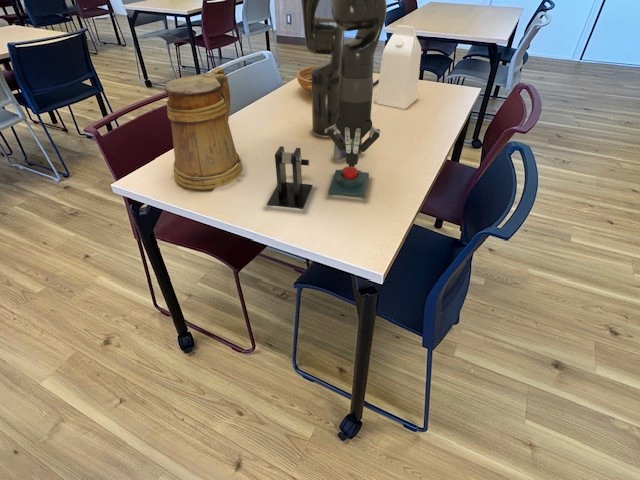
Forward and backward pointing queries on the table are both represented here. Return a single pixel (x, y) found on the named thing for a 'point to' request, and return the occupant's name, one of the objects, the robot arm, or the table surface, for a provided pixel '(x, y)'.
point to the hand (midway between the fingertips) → (351, 165)
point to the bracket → (289, 183)
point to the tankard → (202, 130)
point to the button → (349, 172)
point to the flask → (341, 153)
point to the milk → (400, 69)
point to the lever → (288, 159)
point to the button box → (349, 185)
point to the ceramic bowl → (305, 78)
